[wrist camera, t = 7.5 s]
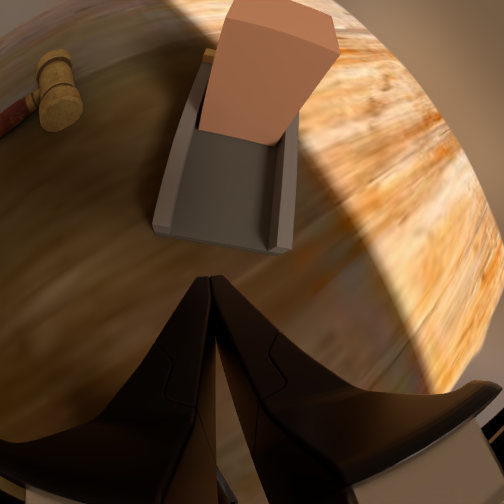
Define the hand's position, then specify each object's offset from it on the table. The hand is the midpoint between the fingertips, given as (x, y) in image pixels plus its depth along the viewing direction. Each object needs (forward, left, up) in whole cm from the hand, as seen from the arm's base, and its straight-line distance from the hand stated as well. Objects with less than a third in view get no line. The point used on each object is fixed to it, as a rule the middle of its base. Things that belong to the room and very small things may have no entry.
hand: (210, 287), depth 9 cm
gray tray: (+12, -7, -12) cm, 18 cm away
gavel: (+22, +17, -13) cm, 31 cm away
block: (+15, -9, -11) cm, 20 cm away
